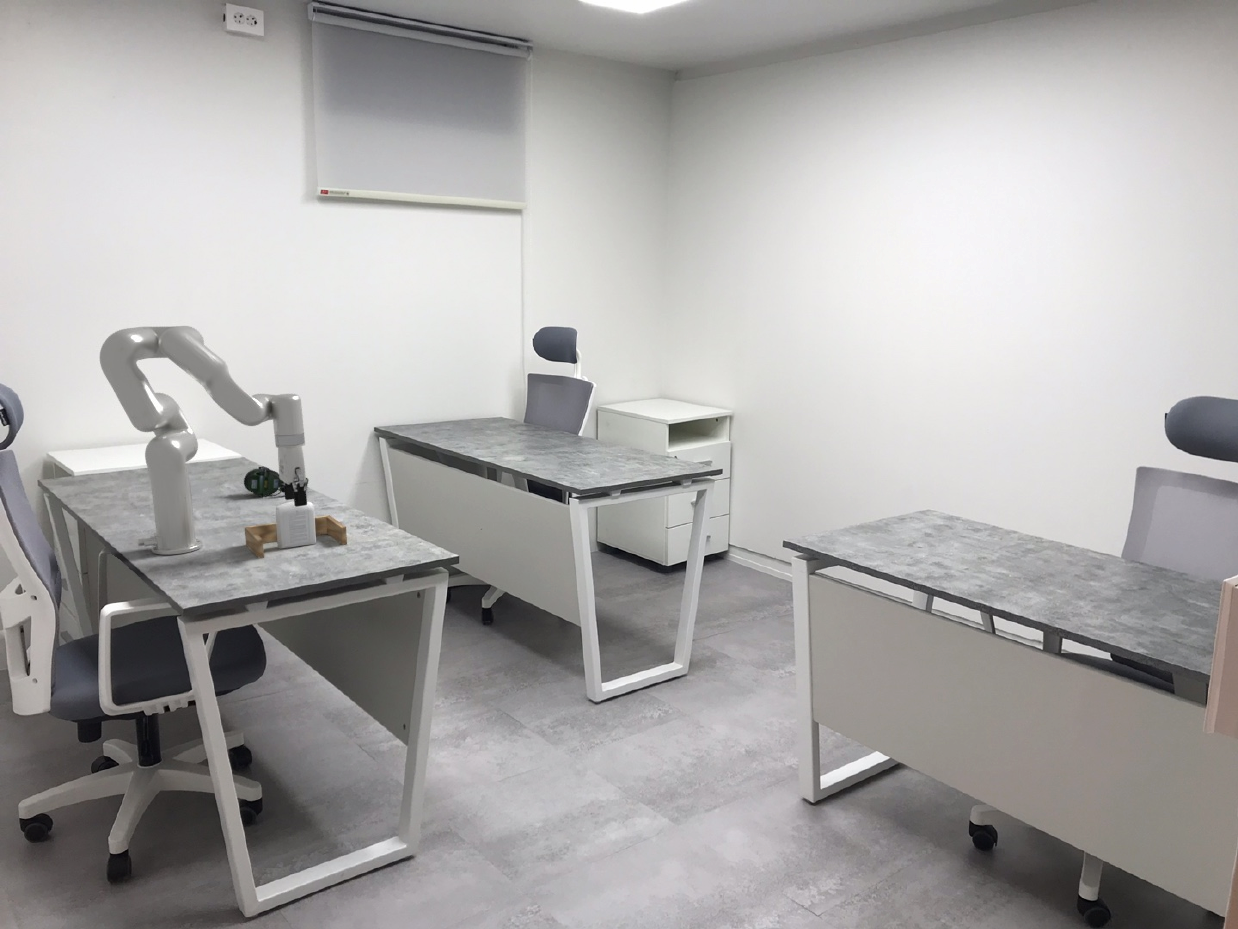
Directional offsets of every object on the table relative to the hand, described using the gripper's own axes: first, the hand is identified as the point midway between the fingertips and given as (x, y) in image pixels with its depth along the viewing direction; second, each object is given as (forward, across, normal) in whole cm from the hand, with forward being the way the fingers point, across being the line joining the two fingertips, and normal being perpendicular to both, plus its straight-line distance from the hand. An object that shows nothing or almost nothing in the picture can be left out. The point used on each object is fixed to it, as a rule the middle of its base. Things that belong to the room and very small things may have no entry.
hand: (296, 502), depth 260 cm
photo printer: (+12, 0, -1) cm, 12 cm away
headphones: (+12, -69, +11) cm, 71 cm away
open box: (+12, -1, -1) cm, 12 cm away
